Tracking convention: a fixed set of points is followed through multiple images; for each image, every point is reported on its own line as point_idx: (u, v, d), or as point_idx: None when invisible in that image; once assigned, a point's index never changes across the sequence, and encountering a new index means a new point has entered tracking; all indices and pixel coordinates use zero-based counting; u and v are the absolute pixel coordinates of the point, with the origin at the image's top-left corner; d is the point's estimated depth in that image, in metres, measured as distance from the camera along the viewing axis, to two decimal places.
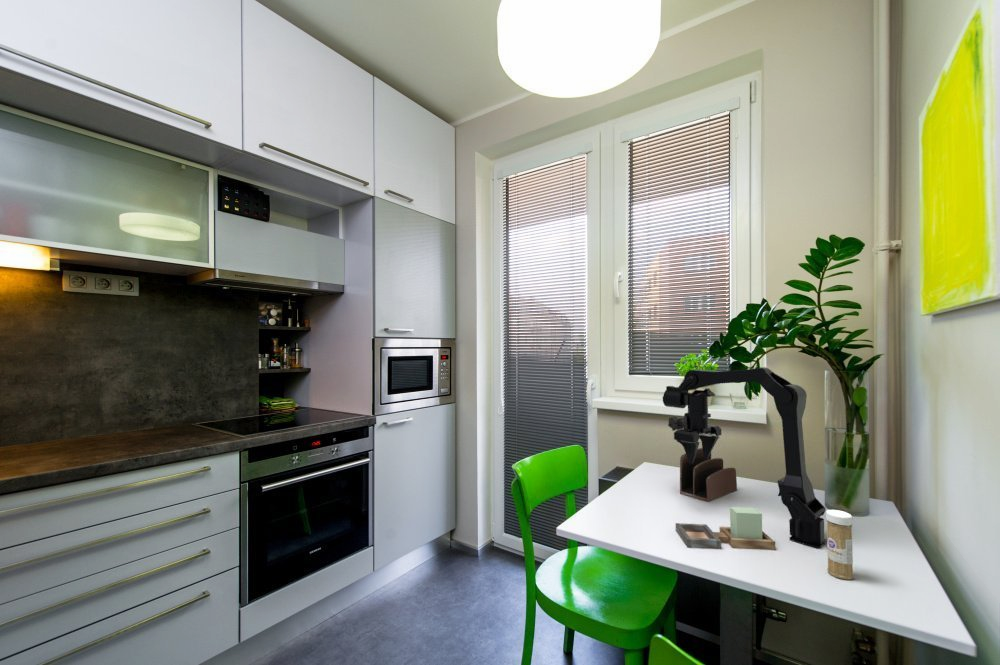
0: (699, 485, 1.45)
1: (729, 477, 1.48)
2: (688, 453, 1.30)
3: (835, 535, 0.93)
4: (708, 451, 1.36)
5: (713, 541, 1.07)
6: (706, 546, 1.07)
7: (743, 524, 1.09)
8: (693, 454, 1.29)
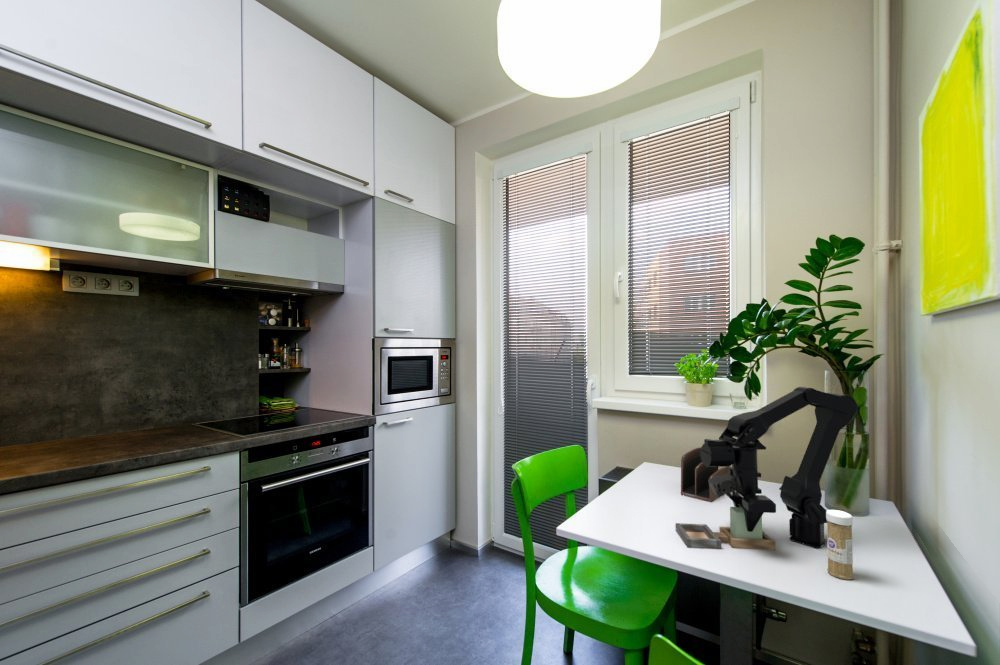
0: (700, 485, 1.44)
1: None
2: (750, 520, 1.08)
3: (835, 535, 0.93)
4: None
5: (713, 541, 1.07)
6: (706, 546, 1.07)
7: (743, 524, 1.09)
8: (757, 520, 1.07)
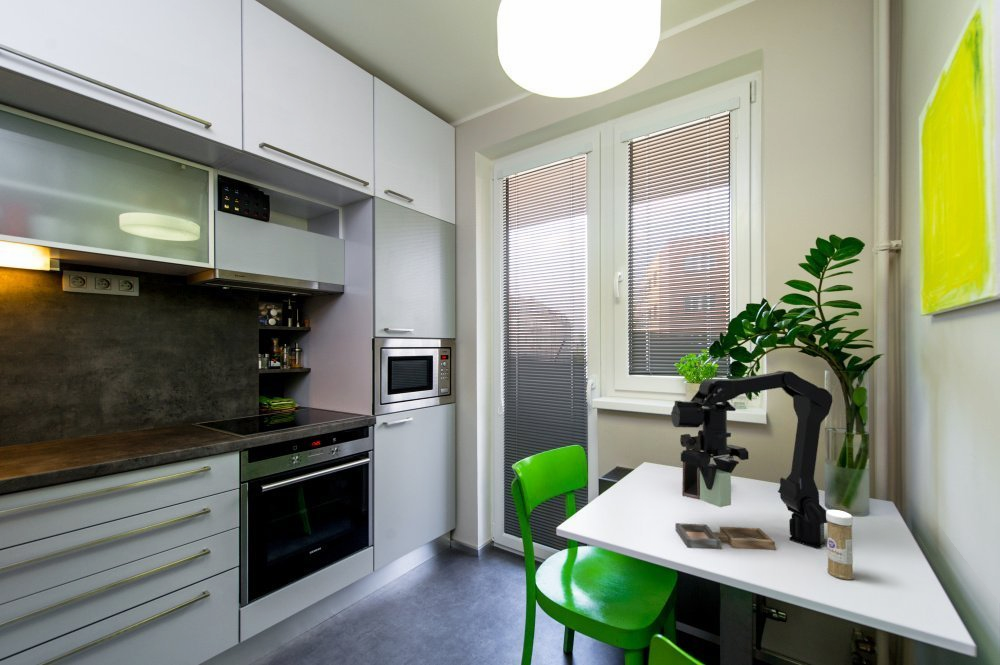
0: None
1: None
2: (706, 477, 1.11)
3: (835, 535, 0.93)
4: None
5: (713, 541, 1.07)
6: (706, 546, 1.07)
7: None
8: (710, 479, 1.09)
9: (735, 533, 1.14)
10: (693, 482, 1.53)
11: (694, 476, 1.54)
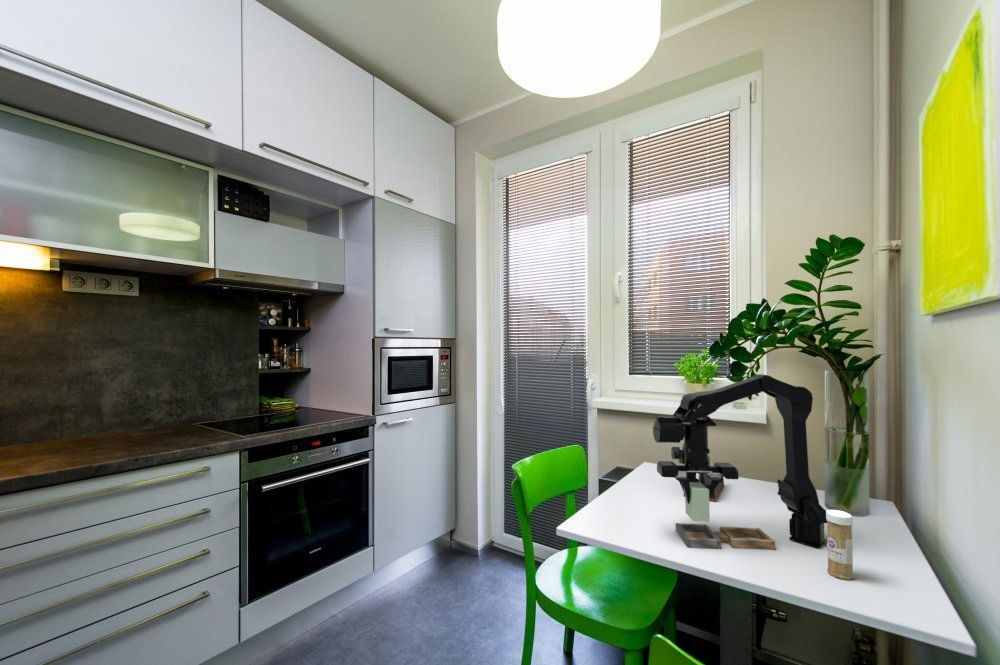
0: None
1: (721, 474, 1.51)
2: (684, 491, 1.13)
3: (835, 535, 0.93)
4: None
5: (713, 541, 1.07)
6: (706, 546, 1.07)
7: None
8: (685, 492, 1.11)
9: (735, 533, 1.14)
10: None
11: (692, 476, 1.54)
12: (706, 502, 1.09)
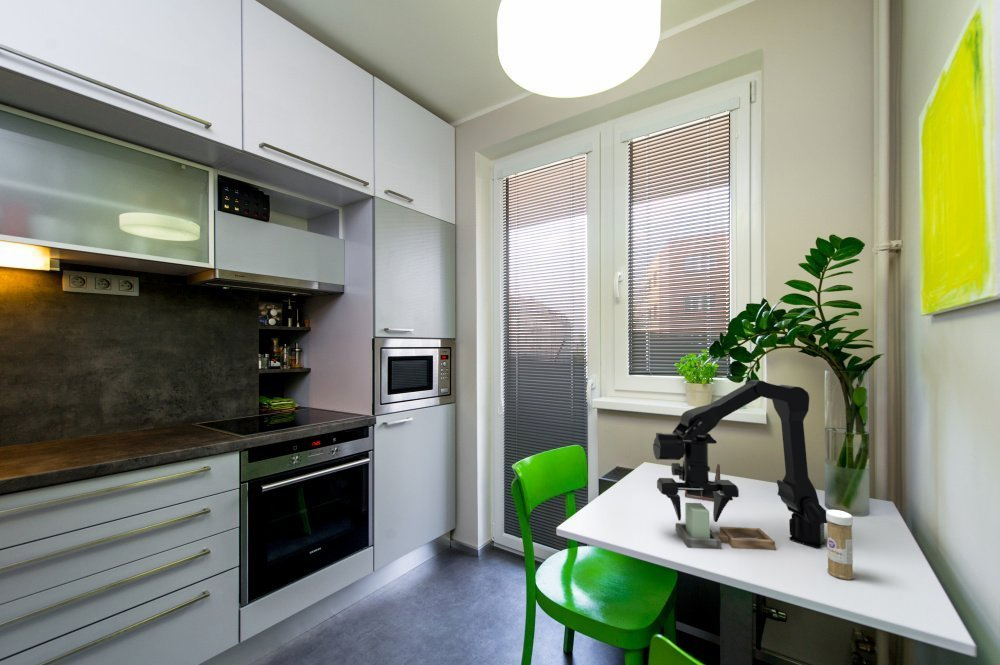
0: None
1: (719, 474, 1.52)
2: (675, 507, 1.13)
3: (835, 535, 0.93)
4: (716, 513, 1.11)
5: (713, 541, 1.07)
6: (706, 546, 1.07)
7: (687, 515, 1.14)
8: (676, 509, 1.11)
9: (735, 533, 1.14)
10: None
11: None
12: (706, 524, 1.09)
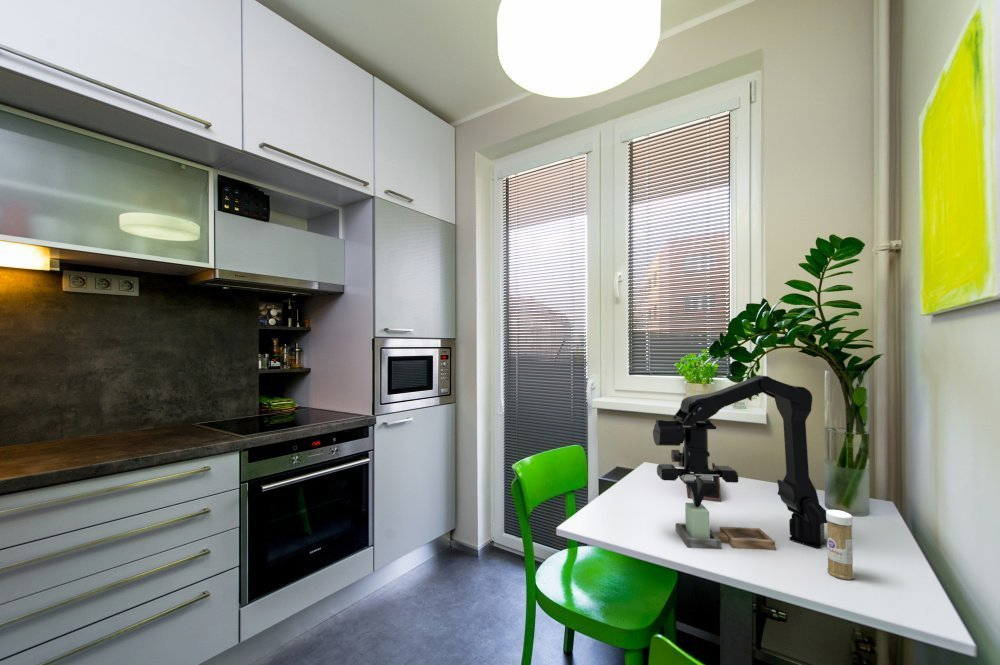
0: None
1: None
2: (691, 494, 1.12)
3: (835, 535, 0.93)
4: (698, 498, 1.11)
5: (713, 541, 1.07)
6: (706, 546, 1.07)
7: (687, 515, 1.14)
8: (693, 496, 1.11)
9: (735, 533, 1.14)
10: None
11: None
12: (706, 524, 1.09)
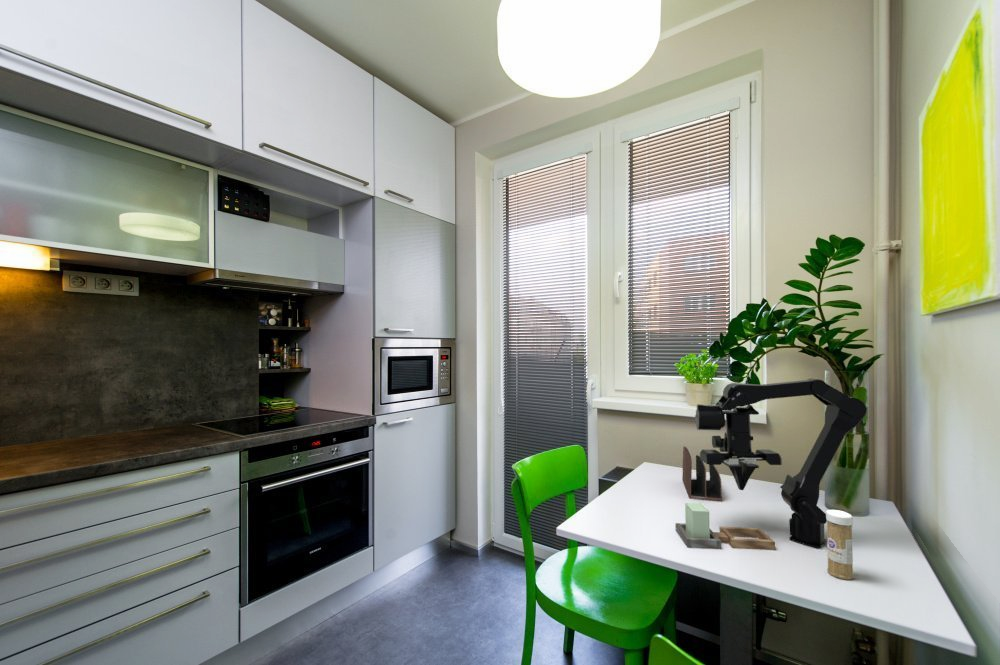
0: None
1: None
2: (735, 478, 1.16)
3: (835, 535, 0.93)
4: (742, 481, 1.14)
5: (713, 541, 1.07)
6: (706, 546, 1.07)
7: (687, 515, 1.14)
8: (737, 479, 1.14)
9: (735, 533, 1.14)
10: None
11: (686, 476, 1.54)
12: (706, 524, 1.09)
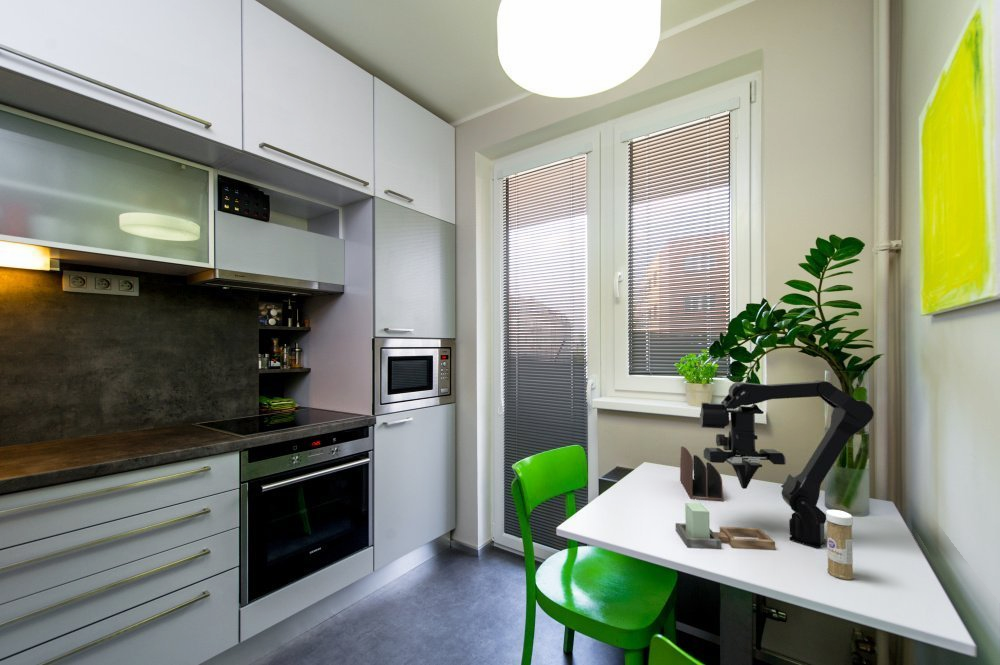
0: None
1: None
2: (738, 476, 1.16)
3: (835, 535, 0.93)
4: (745, 480, 1.15)
5: (713, 541, 1.07)
6: (706, 546, 1.07)
7: (687, 515, 1.14)
8: (740, 477, 1.14)
9: (735, 533, 1.14)
10: None
11: None
12: (706, 524, 1.09)
